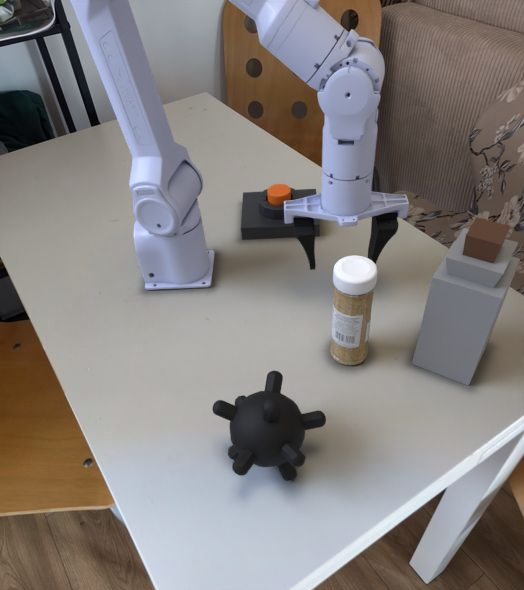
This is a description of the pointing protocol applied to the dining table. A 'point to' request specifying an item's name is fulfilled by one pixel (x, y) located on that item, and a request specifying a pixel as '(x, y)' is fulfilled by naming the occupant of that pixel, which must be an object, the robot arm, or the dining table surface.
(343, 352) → the spice jar
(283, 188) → the button
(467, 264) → the perfume bottle
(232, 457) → the toy ball
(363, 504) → the dining table surface
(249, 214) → the control block
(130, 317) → the dining table surface
